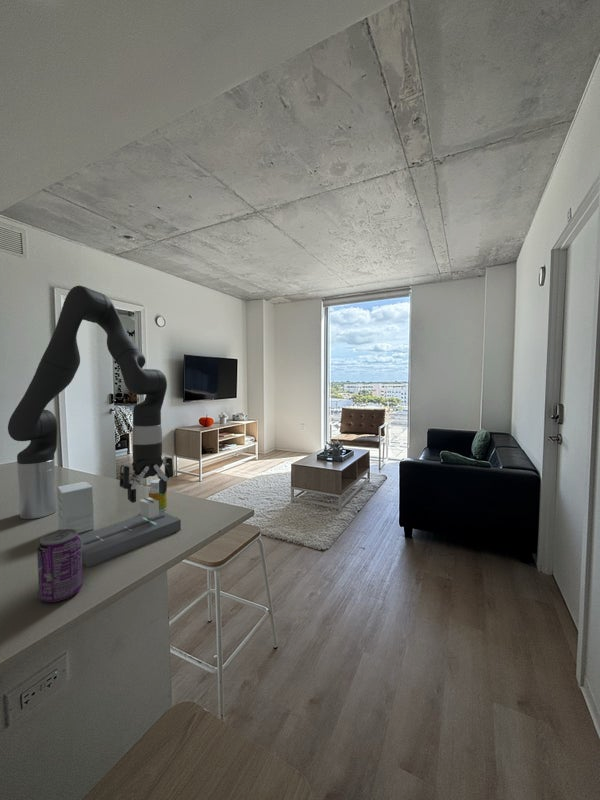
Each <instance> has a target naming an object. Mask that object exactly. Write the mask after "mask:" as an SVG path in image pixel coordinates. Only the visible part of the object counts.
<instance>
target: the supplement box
mask: <svg viewBox="0 0 600 800" xmlns="http://www.w3.org/2000/svg"><path fill="white" fill-rule="evenodd" d="M56 488H57V489H56V491H57V507H58V508H57V509H58V510H57V511H58V528H59V530H63V529H75V530H77V531H78V534H81V533H84V532H87V531H88V532H89V531H91V530H92V531H93V530H94V529H95V525H94V524H95V520H94V517H95V516H94V497H93V496H94V493H93V492H94V491H93V486H92V485H90V484H89V483H88V481H81V482H76V483H70V484H64V485H59V486H57V487H56Z"/></svg>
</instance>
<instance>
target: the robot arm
mask: <svg viewBox="0 0 600 800" xmlns="http://www.w3.org/2000/svg"><path fill="white" fill-rule="evenodd" d="M61 307H62V308H61V311H60V314H59V315H58V316H59V317H58V320H57V322H56V326H55V328H54V331H53V333H52V336H51V338H50V340H49V342H48V344H47V347H46V348H45V351H44V352H43V354H42V356H41V359H40V361H39V363H38V364H37V368H36V370H35V373H34V375H33V377H32V378H31V381H30V383H29V385H28V387H27V389H26V391H25V393H24V395H23V397H22V398H21V400H20V401H19V402H18V404H17V406H16V407H15V409H14V411H13V412H12V414H11V416H10V418H9V420H8V424H7V433H8V436H10V438H11V439H12V440H14V441H16V442H29V441H30V442H29V444H28V446H27V447H25V448H24V449H23V450H21V451H20V452H18V453H17V455H16V459H17V460H16V462H17V463H16V465H17V485H18V486H17V487H18V489H17V490H18V507H19V508H18V509H19V518H20V519H23V520H34V519H38V518H44V517H47V516H50V515H52V514H53V513H55V512H57V493H56V491H57V489H56V488H57V487H56V468H55V467H56V465H55V463H56V462H55V454H56V451H57V449H58V447H57V446H58V422H57V421H58V420H57V418H56V416H55V415H54V413H53V412H52V411H51V410H48V409H46V407H47V406H48V404H49V403H50V402H51V401H52V400H54V398H55V397H57V396H58V395H59V394H60V393H61V392H63V391H64V390H65V389H66V388H67V387H68V386H69V385H70V384H71V383H72V381H73V379H74V377H75V375H76V373H77V371H78V369H79V367H80V364H81V356H80V349H79V347H78V340H77V339H78V338H77V336H78V331H79V328H80V326H81V323H82V322H83V321H86V322H90V323H93V324H97V325H98V326H100V327H101V329H102V330H103V331H104V332H105V334H106V347H107V351H108V352H109V354H110V356H111V358H113V360H114V361H115V363H116V364H117V365H118V367H119V370H120V373H121V376H122V379H123V382H124V385H125V387H126V389H127V390H128V391H129V392H131V393H132V394H134V395H137V396H141V395H142V396H144V395H145V397H144V399H143V401H142V402H139V403H137V404H135V405H134V407H133V409H132V420H133V421H132V425H133V426H132V436H131V437H132V446H131V447H132V463H131V464H129V465H126V464H121V465H120V469H119V470H120V471H119V487H120V488H122V489H124V490H127V500H128V501H129V502H130V503H132V504H134V503H136V502H137V488H136V487H137V486H138V484H139V483H140V482H141V481H142V479H146V478H149V477H155V476H156V477H157V478H158V479H160V480H159V493H160V494H165V491H166V492H167V491H168V480H169V479H171V478H173V477H174V468H173V467H174V466H173V465H174V464H173V458H172V457H169V456H164V457H163V458H162V456H163V432H162V430H163V429H162V408H163V404H164V400H165V396H166V393H167V389H168V381H167V377H166V375H165V373H164V372H162V371H161V370H160V369H153V368H150V369H149V368H144V366H145V365H146V357H145V356H144V354H143V352H142V350H140V349H139V347H138V346H137V344H136V343H135V342H134V341H133V338H131V336H130V335H129V333H128V331H127V330H126V327H125V326H124V324H123V321H122V320H121V317H120V315H119V313H118V312H117V309H116V307H115V305H114V303H113V301H112V300H111V299H110V297H108V296H107V295H106V294H105V293H104V294H103V293H101V292H98V291H96V290H93V289H92V288H89V287H86V286H83V285H75V286H73V287H72V288H71V289H69V291H68V293H67V295H66V296H65V299H64V302H63V305H62V306H61ZM162 466H164V470H162V468H161V467H162ZM132 471H133V473H132V475H130V474H131V472H132Z"/></svg>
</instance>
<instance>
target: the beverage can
mask: <svg viewBox="0 0 600 800" xmlns="http://www.w3.org/2000/svg"><path fill="white" fill-rule="evenodd" d="M79 536H80V535H79V533H78V531H77V530H75V529H63V530H60V529H59V530H56V531H55V530H54V531H52V532H49V533H47V534H45V535H43V536H42V537H41V538H40V539H39V545H38V548H37V550H36V554H37V557H36V558H37V571H38V572H37V575H38V579H37V580H38V598H39V600H40V601H41V602H44V603H45V602H47V603H49V602H50V603H51V602H52V603H53V602H54V603H55V602H60V600H61V601H63V600H65V599H68V598H70V597H72V596H73V595H74V594H76V593H77V592H79V591H80V590H81V589H82V587H83V584H84V581H83V563H82V552H81V539H80V537H79Z"/></svg>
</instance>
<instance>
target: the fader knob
mask: <svg viewBox="0 0 600 800" xmlns="http://www.w3.org/2000/svg"><path fill="white" fill-rule="evenodd" d="M138 501H139V502H138V503H139V505H138V507H139V515H143V516H145V517H147V520H151V518H152V517H154V516H157V515H159V501H158V500H155V499H153V498H150V497H149V496H148V497H144V498H143V499H142V498H141V499H139V500H138Z"/></svg>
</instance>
